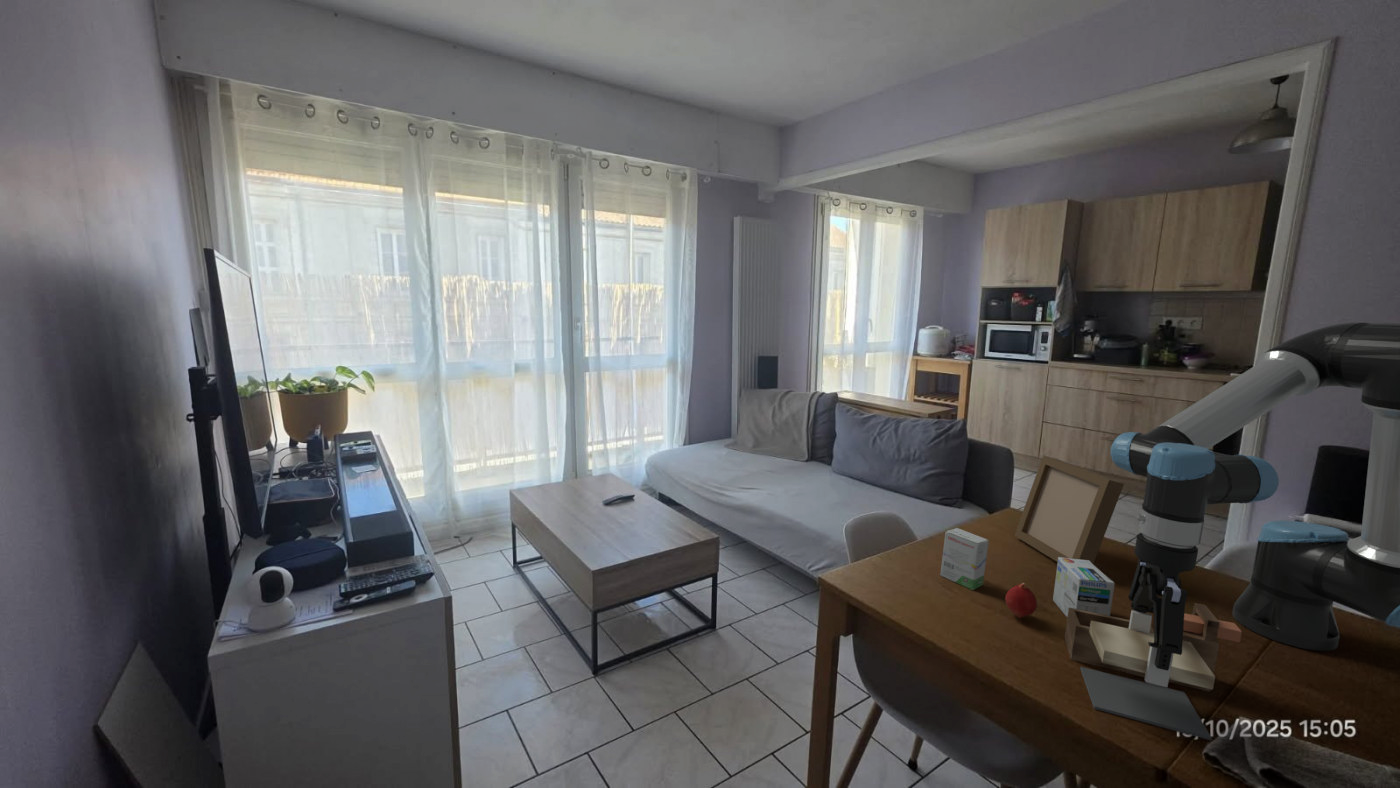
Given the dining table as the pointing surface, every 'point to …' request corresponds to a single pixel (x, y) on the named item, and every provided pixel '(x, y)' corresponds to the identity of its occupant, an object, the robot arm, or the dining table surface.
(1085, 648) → the wooden box
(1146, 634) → the lid
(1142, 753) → the dining table surface
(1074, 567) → the light bulb box
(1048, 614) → the dining table surface
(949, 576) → the ink box
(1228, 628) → the orange rectangular block
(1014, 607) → the onion
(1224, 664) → the dining table surface
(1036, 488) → the photo frame
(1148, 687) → the mat
